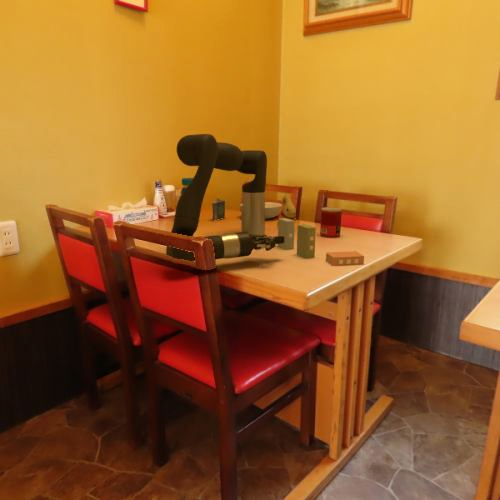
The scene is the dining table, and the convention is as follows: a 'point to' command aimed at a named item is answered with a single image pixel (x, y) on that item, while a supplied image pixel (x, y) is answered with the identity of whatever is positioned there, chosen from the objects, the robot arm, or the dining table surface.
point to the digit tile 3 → (344, 258)
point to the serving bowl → (270, 209)
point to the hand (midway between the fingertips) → (283, 239)
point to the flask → (218, 209)
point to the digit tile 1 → (286, 233)
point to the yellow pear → (288, 209)
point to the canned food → (330, 222)
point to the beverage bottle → (185, 183)
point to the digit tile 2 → (306, 241)
